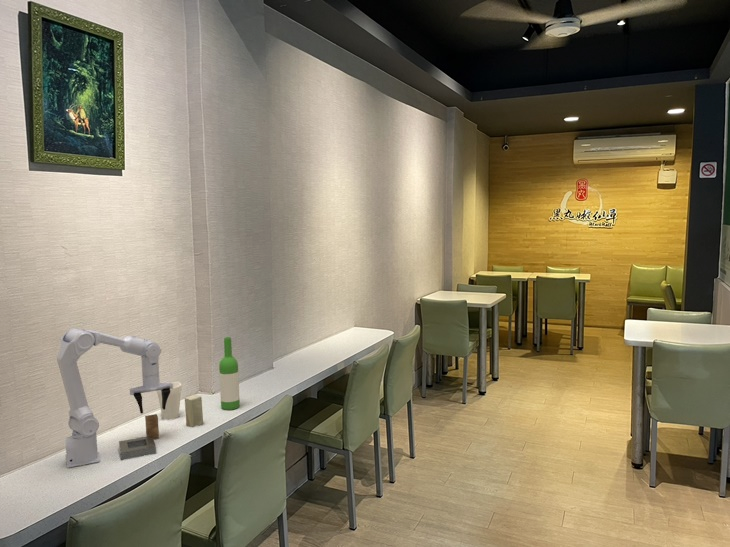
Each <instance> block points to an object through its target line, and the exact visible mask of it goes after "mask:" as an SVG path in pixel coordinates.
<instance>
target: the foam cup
mask: <svg viewBox="0 0 730 547" xmlns="http://www.w3.org/2000/svg"><path fill="white" fill-rule="evenodd" d="M170 382H172V383H173V389H170V394H169V396H168V399H167V402H166V407H165V409H164V410H163V408H162V392H161V390H157V391H156V394H157V397H158V402H159V406H160V411H161V413H160V414H161V417H162V419H163V420H172V419H173V420H174V419H177V418H179V417H180V407H181V395H182V383H181V382H179V381H169V382H168V381H167V383H170Z"/></svg>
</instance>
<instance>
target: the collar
mask: <svg viewBox="0 0 730 547" xmlns="http://www.w3.org/2000/svg"><path fill="white" fill-rule="evenodd" d="M118 448H119V453H120V460H121V461H123V460H128V459H132V458H133V459H134V458H140V457H144V455H145V456H150V455H154V454H157V446H156V443H155V439H153V436H142V437H135V438H130V439H125V440H119V441H118ZM149 454H150V455H149Z"/></svg>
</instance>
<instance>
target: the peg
mask: <svg viewBox="0 0 730 547" xmlns="http://www.w3.org/2000/svg"><path fill="white" fill-rule="evenodd" d="M144 420H145V435H146V436H153V439H154V440H158V439H160V431H159V427H160V426H159V417H158V413H154V414H148V415H147V414H146V415H145V416H144ZM146 436H145V437H146Z"/></svg>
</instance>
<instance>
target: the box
mask: <svg viewBox="0 0 730 547" xmlns="http://www.w3.org/2000/svg"><path fill="white" fill-rule="evenodd" d="M184 408H185V409H184V410H185V422H186V423H185V424H186V426H188V427H190V428H194V427H198V426H200V425H202V424H204V416H203V414H204V413H203V398H202V396H201V395H197V394H192V395H190V396H187V397H184Z"/></svg>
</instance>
